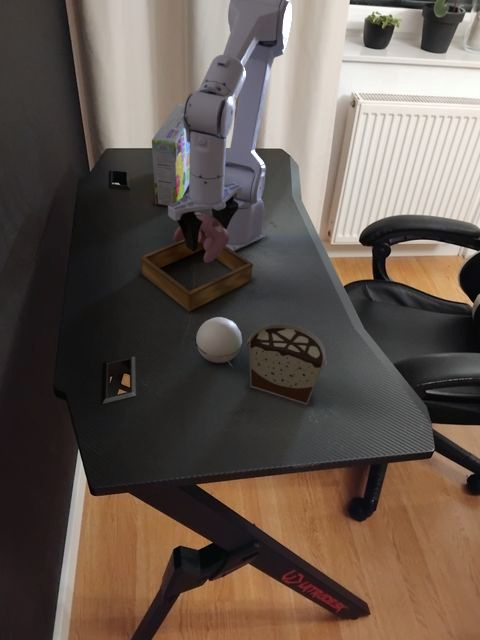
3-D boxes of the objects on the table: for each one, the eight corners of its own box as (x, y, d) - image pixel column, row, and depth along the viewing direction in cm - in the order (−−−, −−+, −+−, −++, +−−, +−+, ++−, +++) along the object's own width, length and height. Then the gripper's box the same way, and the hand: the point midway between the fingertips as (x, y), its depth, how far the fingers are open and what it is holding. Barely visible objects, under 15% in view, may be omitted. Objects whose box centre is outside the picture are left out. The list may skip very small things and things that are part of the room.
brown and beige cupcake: (326, 381, 91) (337, 335, 84) (316, 408, 87) (327, 361, 80) (254, 359, 93) (259, 312, 86) (241, 384, 89) (245, 336, 82)
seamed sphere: (192, 342, 95) (193, 308, 90) (236, 340, 96) (239, 306, 91) (199, 386, 88) (200, 352, 83) (246, 383, 89) (250, 349, 84)
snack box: (177, 164, 141) (176, 102, 131) (199, 167, 141) (200, 105, 131) (153, 205, 126) (150, 138, 116) (178, 209, 126) (177, 142, 115)
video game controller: (222, 266, 102) (237, 230, 99) (205, 264, 98) (220, 227, 96) (186, 241, 106) (200, 206, 104) (169, 239, 103) (183, 202, 100)
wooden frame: (203, 247, 116) (203, 230, 113) (251, 280, 109) (253, 263, 106) (141, 273, 107) (139, 256, 104) (189, 311, 100) (189, 294, 98)
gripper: (187, 193, 86) (187, 267, 95) (256, 169, 94) (249, 239, 103) (159, 175, 89) (161, 248, 98) (228, 153, 97) (224, 222, 106)
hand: (205, 242), depth 101 cm, fingers closed on video game controller, 6 cm apart
